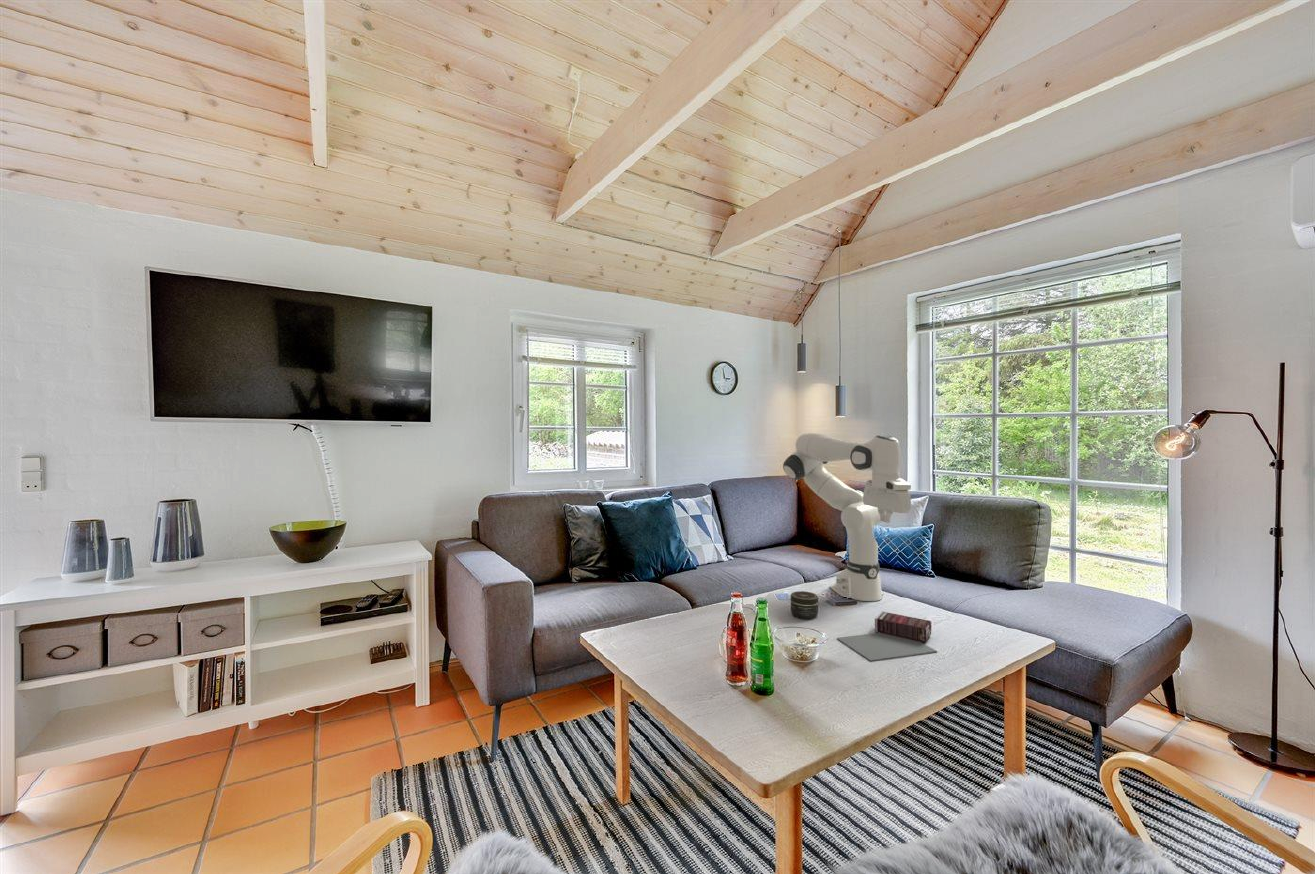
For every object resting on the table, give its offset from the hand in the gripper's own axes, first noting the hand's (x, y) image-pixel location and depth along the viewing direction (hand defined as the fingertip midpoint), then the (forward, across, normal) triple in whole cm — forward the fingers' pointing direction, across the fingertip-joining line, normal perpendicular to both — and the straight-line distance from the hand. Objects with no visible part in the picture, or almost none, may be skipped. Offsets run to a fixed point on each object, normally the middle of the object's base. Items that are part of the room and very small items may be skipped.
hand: (885, 521), depth 182 cm
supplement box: (+34, +1, -3) cm, 34 cm away
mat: (+37, +14, -10) cm, 40 cm away
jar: (+37, -17, -21) cm, 46 cm away
